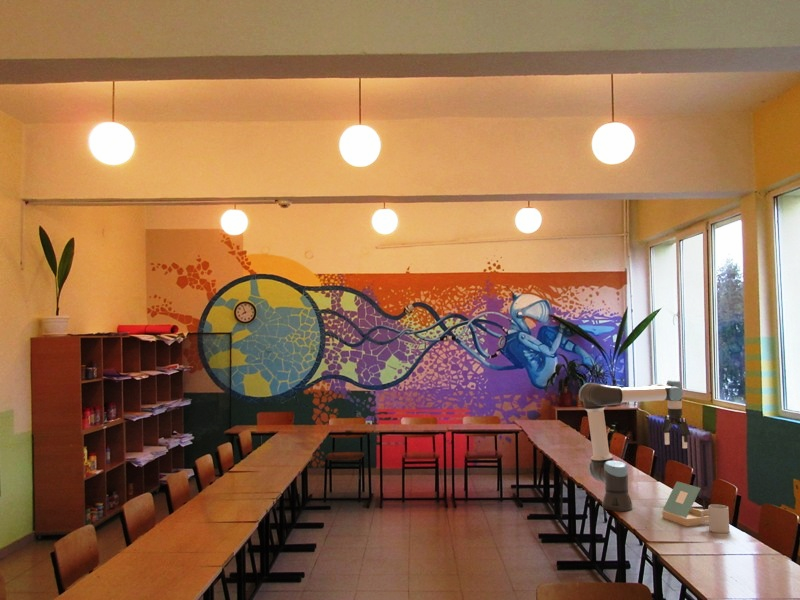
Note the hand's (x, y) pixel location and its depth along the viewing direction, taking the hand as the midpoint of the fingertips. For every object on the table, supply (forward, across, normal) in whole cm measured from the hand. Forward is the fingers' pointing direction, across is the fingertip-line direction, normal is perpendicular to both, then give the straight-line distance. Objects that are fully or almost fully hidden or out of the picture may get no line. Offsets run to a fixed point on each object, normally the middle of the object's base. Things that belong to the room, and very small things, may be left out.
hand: (675, 446), depth 381 cm
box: (+28, -40, +29) cm, 57 cm away
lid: (+17, -39, +33) cm, 54 cm away
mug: (+28, -57, +31) cm, 71 cm away
